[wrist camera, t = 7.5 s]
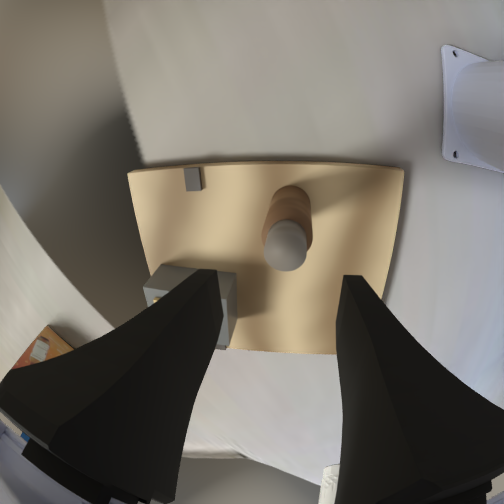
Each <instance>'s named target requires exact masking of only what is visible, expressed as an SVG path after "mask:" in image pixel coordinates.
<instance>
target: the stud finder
mask: <svg viewBox="0 0 504 504" xmlns="http://www.w3.org/2000/svg"><path fill="white" fill-rule="evenodd" d="M197 270H198V269H196V268H187V267H179V266H171V265H163V264H160V266H159V267H158V268H157V269H156V271H155V272H154V273H153V275H152V276H151V277H150V279H149V280H148V281H147V282H146V284H145V285H144V286H143V289H144V292H145V296H146V300H147V304H148V307H149V306H151V305H152V304H153V303H155V302H156V301H158V300H159V299H160V298H162V297H163V296H164V295H165V294H167V293H168V292H169V291H171V290H172V289H173V288H175V287H176V286H177V285H178V284H180V283H181V282H182V281H184V280H185V279H186V278H187V277H189V276H190V275H191V274H193V273H194V272H195V271H197ZM217 274H218V281H219V288H220V294H221V301H222V307H223V314H224V317H223V322H222V326H221V330H220V334H219V338H218V342H217V344H220V345H226V346H229V345H230V342H231V339H232V335H233V332H234V329H235V326H236V322H237V319H238V318H237V279H236V273H231V272H222V271H217Z"/></svg>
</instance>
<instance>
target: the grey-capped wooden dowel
mask: <svg viewBox="0 0 504 504" xmlns="http://www.w3.org/2000/svg"><path fill="white" fill-rule="evenodd" d="M261 238H262V243H263V245H264V257H265V260H266V261H267V263H268V264H269V265H270V266H271V267H272V268H274V269H276V270H279V271H285V272H287V271H293V270H296V269H298V268H299V267H300V266H301V265H302V264H303V263H304V262H305V260H306V256H307V251H308V250H309V249H310V247H311V245H312V241H313V230H312V216H311V204H310V199H309V196H308V195H307V193H306V192H305V191H304V190H303V189H301V188H299V187H297V186H284V187H282V188H280V189H278V190H277V191H276V192H275V193H274V195H273V197H272V200H271V203H270V206H269V210H268V213H267V216H266V219H265V222H264V226H263V229H262V233H261Z"/></svg>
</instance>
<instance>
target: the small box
mask: <svg viewBox="0 0 504 504" xmlns="http://www.w3.org/2000/svg"><path fill="white" fill-rule="evenodd" d="M72 350H74V349H73V348H72V347H71V346H69V345H68V344H67V343H66V342H65V341H64V340H62V339H61V338H60V337H59V336H58V335H57V334H56V333H55V332H54V331H53V330H52V329H51V328H50V327H49V326H46V327H45V328H44V329H43V330H42V331H41V332H40V334H39V335H38V336H37V337H36V338H35V340H34V341H33V342H32V343H31V344H30V346H29V347H28V348H27V349H26V351H25V352H24V353H23V354H22V356H21V357H20V358H19V359H18V361H17V362H16V363H15V365H14V366H13V367H12V369H15V368H20V367H24V366H27V365H31V364H35V363H39V362H42V361H45V360H48V359H51V358H54V357H57V356H60V355H62V354H65V353H67V352H70V351H72Z"/></svg>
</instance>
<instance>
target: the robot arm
mask: <svg viewBox="0 0 504 504" xmlns="http://www.w3.org/2000/svg"><path fill="white" fill-rule="evenodd" d="M453 51H454V52H455V53H456V57H455V56H454V55H453ZM441 54H442V66H443V85H444V123H443V142H442V156H443V158H444V159H446V160H448V161H452V162H457V163H462V164H467V165H472V166H476V167H481V168H485V169H489V170H493V171H497V172H501V173H504V60H500V61H489V60H486V59H484V58H482V57H479V56H477V55H475V54H472V53H470V52H467V51H464V50H462V49H459V48H456V47H453V46H450V45H444V46H442V48H441ZM454 151H456V156H455V157H453V152H454ZM223 317H224V314H223V307H222V301H221V294H220V288H219V281H218V274H217V270H215V269H198V270H197V271H195V272H194V273H193V274H191V275H190V276H189V277H187V278H186V279H185V280H184V281H182V282H181V283H180V284H178V285H177V286H176V287H175V288H173V289H172V290H171V291H169V292H168V293H167V294H165V295H164V296H163V297H162V298H160V299H159V300H158V301H156V302H155V303H153V304H152V305H151V306H149V307H148V308H147V309H145V310H143V311H142V312H141V313H139V314H138V315H136V316H135V317H134V318H132V319H131V320H129V321H127V322H126V323H124V324H123V325H121V326H119V327H118V328H116V329H114V330H112V331H111V332H109V333H107V334H105V335H103V336H102V337H100V338H98V339H96V340H93V341H91V342H89V343H87V344H85V345H83V346H81V347H79V348H77V349H75V350H72V351H70V352H67V353H65V354H62V355H60V356H57V357H54V358H51V359H48V360H45V361H42V362H39V363H35V364H31V365H27V366H24V367H20V368H15V369H11V370H10V371H9V372H8V373H7V374H6V376H5V377H4V378H3V380H2V381H1V383H0V412H1V413H2V414H4V416H5V417H6V418H8V419H9V420H10V421H11V422H12V423H13V424H14V425H15V426H16V427H18V428H19V429H20V430H21V431H22V432H23V433H25V434H26V435H27V436H28V437H30V439H29V440H28V442H26V441H25V440H24V439H23V438H22V437H20V436H19V435H18V434H17V433H16V432H14V431H13V430H12V429H11V428H10V427H9V426H7V425H6V424H5V423H3V422H2V421H1V420H0V504H137V503H138V501H140V502H142V503H145V504H150V501H151V500H154V501H157V502H160V503H163V504H167V503H170V502H172V501H174V500H175V493H176V486H177V479H178V472H179V467H180V461H181V456H182V451H183V446H184V442H185V437H186V433H187V429H188V425H189V421H190V417H191V413H192V409H193V405H194V402H195V399H196V396H197V393H198V391H199V388H200V385H201V383H202V380H203V378H204V375H205V373H206V370H207V368H208V365H209V363H210V360H211V358H212V355H213V352H214V350H215V347H216V344H217V342H218V338H219V334H220V330H221V326H222V322H223ZM336 352H337V360H338V369H339V377H340V386H341V396H342V409H343V426H342V445H341V458H340V468H339V476H338V484H337V491H336V497H335V502H334V504H504V491H502V492H501V493H499V494H497V495H495V496H493V497H492V498H491V499H489V500H486V493H488V492H490V491H491V490H492V482H491V480H492V479H494V478H495V477H497V476H499V475H500V474H502V473H504V410H503V409H502V408H500V407H498V406H496V405H495V404H493V403H491V402H490V401H488V400H487V399H486V398H484V397H483V396H481V395H480V394H478V393H477V392H475V391H474V390H473V389H471V388H470V387H468V386H467V385H466V384H464V383H463V382H462V381H461V380H459V379H458V378H457V377H456V376H455V375H453V374H452V373H451V372H450V371H448V370H447V369H446V368H445V367H444V366H443V365H441V364H440V363H439V362H438V361H437V360H436V359H435V358H434V357H433V356H432V355H431V354H430V353H429V352H428V351H427V350H425V349H424V348H423V347H422V346H421V345H420V344H419V343H418V342H417V341H416V340H415V338H414V337H413V336H412V335H411V334H410V333H409V332H408V331H407V330H406V329H405V328H404V326H403V325H402V324H401V323H400V322H399V321H398V320H397V318H396V317H395V316H394V315H393V314H392V312H391V311H390V310H389V309H388V308H387V306H386V305H385V304H384V303H383V301H382V300H381V299H380V298H379V296H378V295H377V294H376V292H375V291H374V290H373V289H372V287H371V286H370V285H369V284H368V282H367V281H366V280H365V279H364V277H363V276H362V275H343V280H342V287H341V293H340V299H339V305H338V311H337V317H336Z"/></svg>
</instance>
